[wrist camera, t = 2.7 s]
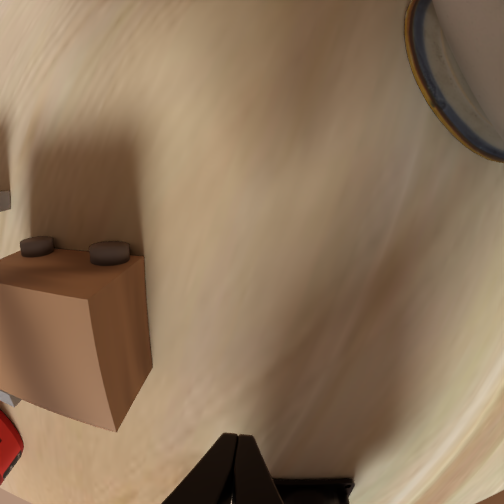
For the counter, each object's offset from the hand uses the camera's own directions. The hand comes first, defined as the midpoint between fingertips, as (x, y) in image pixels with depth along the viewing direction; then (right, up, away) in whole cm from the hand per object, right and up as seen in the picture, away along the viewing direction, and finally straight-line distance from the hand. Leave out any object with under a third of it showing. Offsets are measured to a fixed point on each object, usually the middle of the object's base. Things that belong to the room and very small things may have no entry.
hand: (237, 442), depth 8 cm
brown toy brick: (-8, +2, +7) cm, 11 cm away
